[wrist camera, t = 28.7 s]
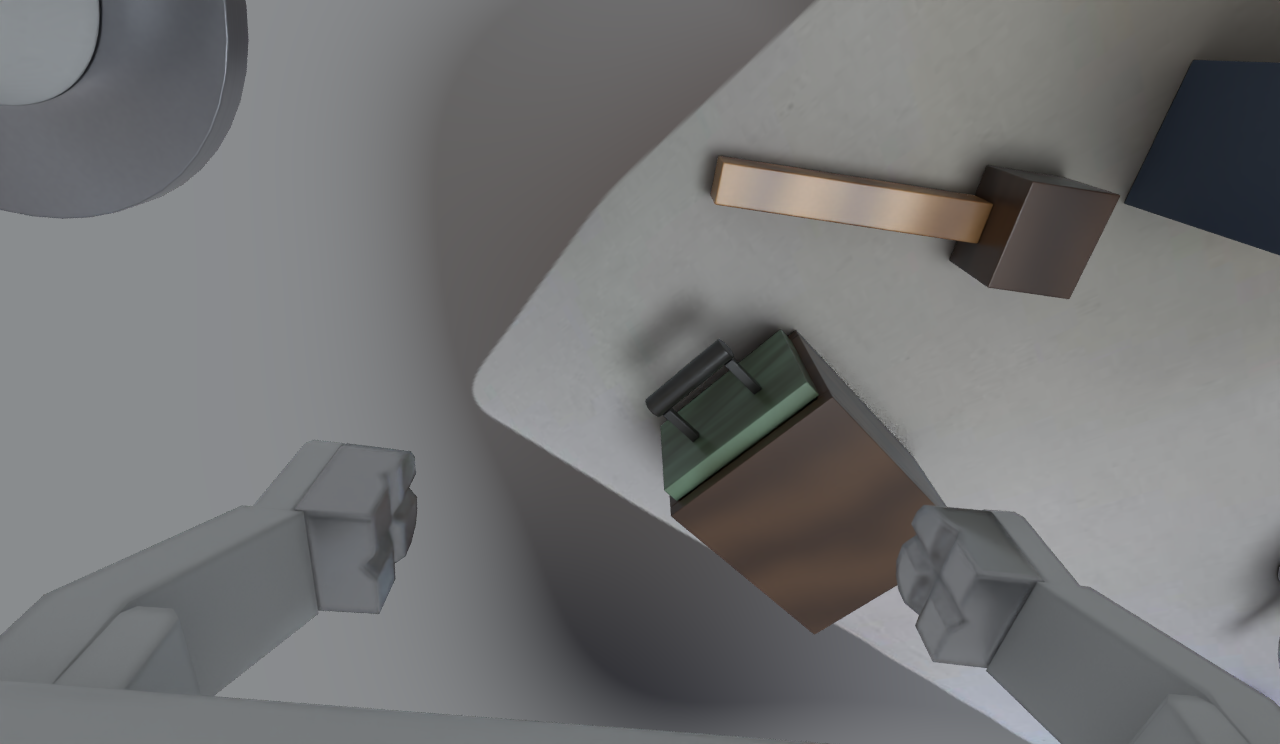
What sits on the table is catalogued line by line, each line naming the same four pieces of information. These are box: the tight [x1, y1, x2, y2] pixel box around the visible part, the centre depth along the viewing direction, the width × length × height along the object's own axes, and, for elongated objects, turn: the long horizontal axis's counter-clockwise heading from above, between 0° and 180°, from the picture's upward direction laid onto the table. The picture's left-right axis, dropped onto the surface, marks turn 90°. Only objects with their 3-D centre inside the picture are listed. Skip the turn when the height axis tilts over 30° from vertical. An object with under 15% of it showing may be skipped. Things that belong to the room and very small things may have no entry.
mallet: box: [711, 156, 1120, 299], centre depth 37 cm, size 21×6×5 cm, turn 82°
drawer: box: [645, 330, 819, 501], centre depth 42 cm, size 18×11×7 cm, turn 44°
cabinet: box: [670, 330, 947, 634], centre depth 43 cm, size 15×12×9 cm
